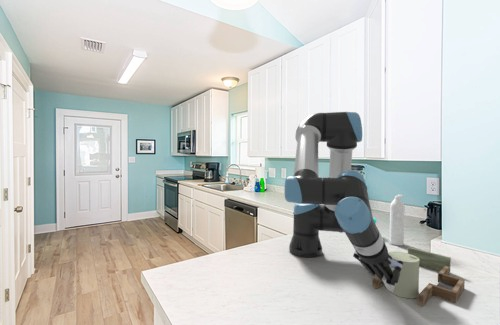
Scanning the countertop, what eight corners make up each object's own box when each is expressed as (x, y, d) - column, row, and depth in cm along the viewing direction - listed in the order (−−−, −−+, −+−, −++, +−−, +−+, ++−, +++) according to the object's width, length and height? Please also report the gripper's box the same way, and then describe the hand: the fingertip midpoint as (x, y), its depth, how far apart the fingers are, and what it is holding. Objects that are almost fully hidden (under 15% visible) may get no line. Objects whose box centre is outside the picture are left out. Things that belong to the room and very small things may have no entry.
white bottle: (401, 246, 127) (402, 197, 127) (387, 243, 132) (388, 195, 131) (406, 242, 133) (407, 195, 133) (392, 239, 138) (394, 194, 138)
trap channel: (447, 316, 71) (448, 295, 71) (356, 280, 91) (356, 264, 91) (470, 278, 94) (471, 262, 94) (393, 256, 114) (393, 243, 114)
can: (424, 300, 79) (425, 262, 79) (392, 296, 81) (393, 259, 81) (411, 285, 88) (412, 251, 88) (383, 282, 90) (383, 249, 90)
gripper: (340, 249, 70) (366, 289, 81) (391, 264, 60) (412, 308, 71) (350, 227, 73) (373, 268, 84) (399, 238, 63) (419, 283, 75)
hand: (391, 286), depth 78 cm, fingers closed
